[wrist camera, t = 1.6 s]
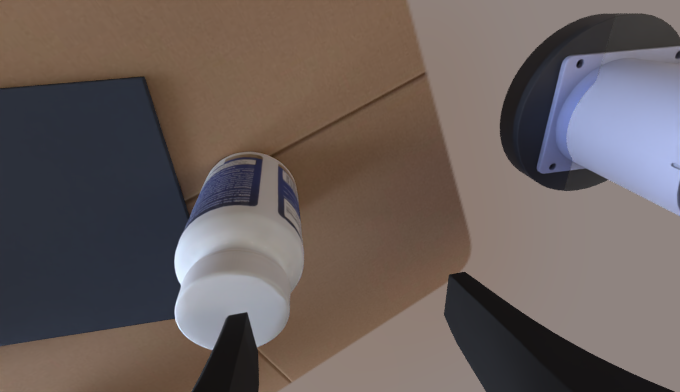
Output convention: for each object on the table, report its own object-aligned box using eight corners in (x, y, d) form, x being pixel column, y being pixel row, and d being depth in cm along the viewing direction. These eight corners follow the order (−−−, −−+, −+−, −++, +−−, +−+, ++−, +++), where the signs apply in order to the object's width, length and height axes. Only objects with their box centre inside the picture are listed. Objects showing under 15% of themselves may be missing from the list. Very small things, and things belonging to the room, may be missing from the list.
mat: (144, 76, 17) (141, 77, 16) (219, 307, 24) (218, 311, 24) (-343, 116, 15) (-358, 119, 14) (-92, 356, 22) (-98, 361, 22)
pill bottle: (193, 212, 21) (133, 351, 12) (222, 134, 19) (175, 235, 10) (277, 238, 22) (275, 375, 14) (311, 170, 20) (334, 280, 12)
